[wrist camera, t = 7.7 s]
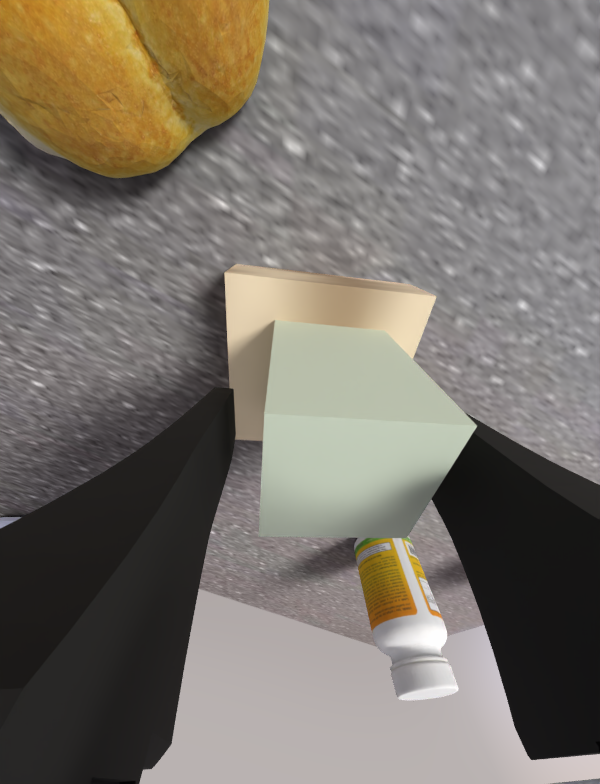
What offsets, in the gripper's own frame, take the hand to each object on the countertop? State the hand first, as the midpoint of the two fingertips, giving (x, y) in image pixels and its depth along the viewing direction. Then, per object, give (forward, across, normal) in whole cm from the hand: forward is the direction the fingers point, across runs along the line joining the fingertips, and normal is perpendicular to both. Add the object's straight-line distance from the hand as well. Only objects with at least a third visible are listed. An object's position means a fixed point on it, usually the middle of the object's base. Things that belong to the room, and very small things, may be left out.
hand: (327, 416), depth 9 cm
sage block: (+3, 0, 0) cm, 3 cm away
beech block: (+6, 0, 0) cm, 6 cm away
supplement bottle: (+6, -9, +19) cm, 22 cm away
